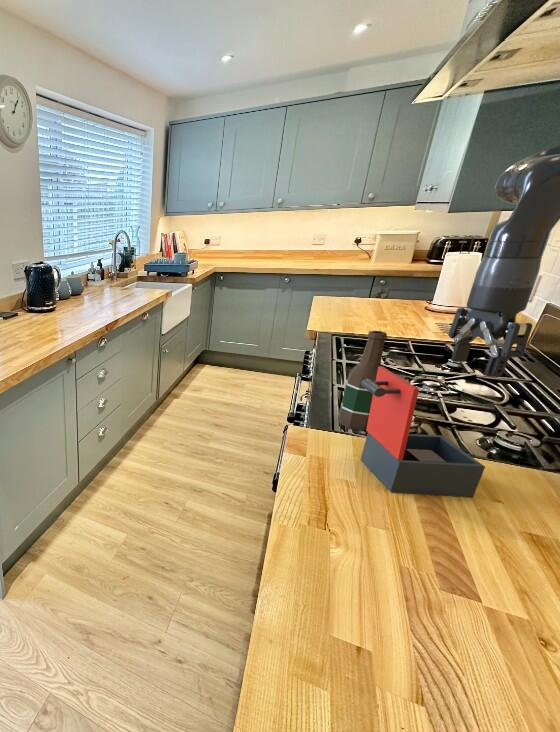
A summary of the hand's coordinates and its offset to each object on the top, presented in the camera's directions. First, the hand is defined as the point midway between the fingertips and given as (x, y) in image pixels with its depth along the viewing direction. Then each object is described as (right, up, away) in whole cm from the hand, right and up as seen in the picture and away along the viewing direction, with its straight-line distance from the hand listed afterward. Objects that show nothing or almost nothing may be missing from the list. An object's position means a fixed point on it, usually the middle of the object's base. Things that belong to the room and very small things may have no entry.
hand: (474, 368), depth 80 cm
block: (-7, -21, +4) cm, 23 cm away
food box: (-8, -22, +4) cm, 24 cm away
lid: (-15, -8, 0) cm, 18 cm away
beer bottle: (-4, -13, +26) cm, 29 cm away
